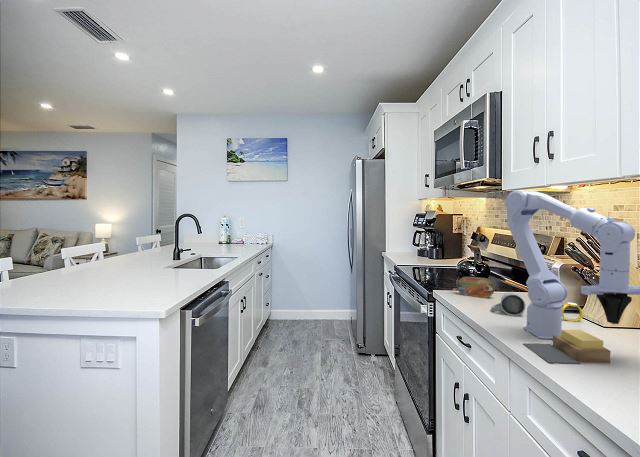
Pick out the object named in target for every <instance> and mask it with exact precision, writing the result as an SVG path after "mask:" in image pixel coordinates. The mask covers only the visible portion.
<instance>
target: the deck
mask: <svg viewBox="0 0 640 457" xmlns="http://www.w3.org/2000/svg"><path fill="white" fill-rule="evenodd" d="M552 345H553V346H554V347H556V348H558V349H559V350H561V351H562V352H564V353H565V354H567V355H569V356H570V357H572V358H573V359H575V360H576V361H578V362H580V363H591V364H592V363H593V364H594V363H597V364H598V363H600V364H603V363H606V364H611V353H612V352H611V350H610V349H608V348H606V347H604V346H603V349H581V348H580V347H578V346H576V345H574V344H573V343H571V342H569V341H567V340H566V339H564V338H562V337H561V336H560V335H553V339H552Z"/></svg>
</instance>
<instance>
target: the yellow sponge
mask: <svg viewBox="0 0 640 457" xmlns="http://www.w3.org/2000/svg"><path fill="white" fill-rule="evenodd" d="M561 337H562V338H564V339H566V340H567V341H569V342H571V343H573V344H574V345H576V346H578V347H580V348H581V349H603V347H604V341H603V340H602V339H601V338H598V337H596V336H594V335H592V334H590V333H588V332H587V331H584V330H582V329H561Z"/></svg>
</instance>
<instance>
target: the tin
mask: <svg viewBox="0 0 640 457" xmlns="http://www.w3.org/2000/svg"><path fill="white" fill-rule="evenodd" d="M456 288H457V291H458V293H459V294H461V296H464V297H474V298H483V299H486V298H490V297H491V296H492V295H493V294H494V293H495V290H496V287H495V284H494V283H493V281H492V280H491V279H489V278H486V277H476V276H462V277H461V278H459V279H458V280H457V283H456Z"/></svg>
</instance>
